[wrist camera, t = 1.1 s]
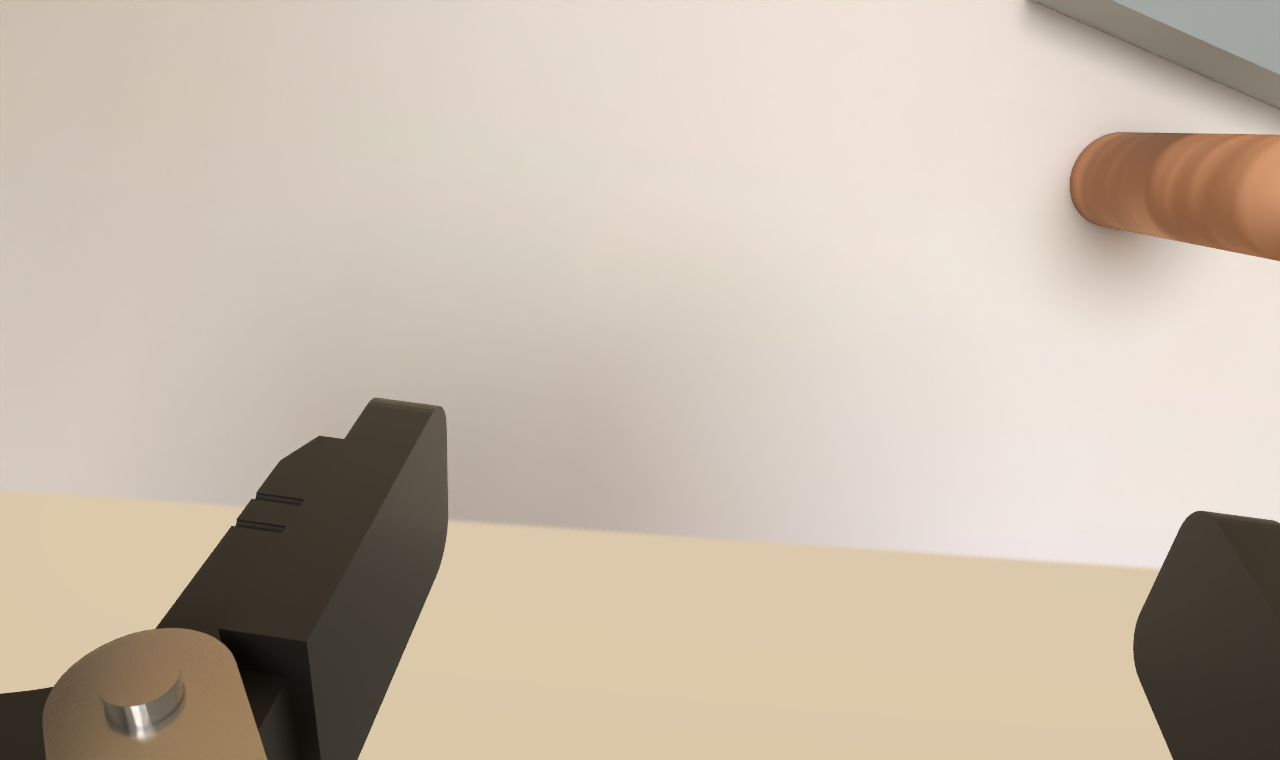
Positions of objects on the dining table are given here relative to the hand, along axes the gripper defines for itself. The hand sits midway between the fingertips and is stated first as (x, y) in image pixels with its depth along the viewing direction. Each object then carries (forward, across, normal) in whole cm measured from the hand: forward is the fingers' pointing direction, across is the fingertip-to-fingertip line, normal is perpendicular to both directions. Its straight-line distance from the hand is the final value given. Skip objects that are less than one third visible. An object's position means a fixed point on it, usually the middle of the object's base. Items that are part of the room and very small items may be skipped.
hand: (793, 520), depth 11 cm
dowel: (+28, -13, +4) cm, 31 cm away
